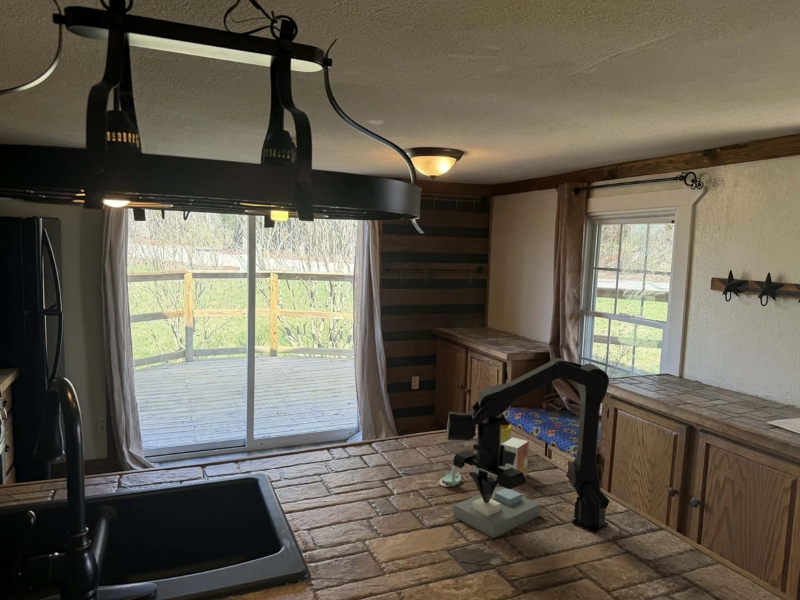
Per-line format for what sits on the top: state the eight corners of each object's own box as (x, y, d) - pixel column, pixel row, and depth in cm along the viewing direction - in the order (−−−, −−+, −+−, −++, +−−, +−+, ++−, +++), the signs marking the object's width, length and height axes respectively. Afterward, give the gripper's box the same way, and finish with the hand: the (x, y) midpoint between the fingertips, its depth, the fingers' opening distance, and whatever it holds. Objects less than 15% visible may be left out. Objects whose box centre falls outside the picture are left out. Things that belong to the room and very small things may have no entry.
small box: (516, 483, 159) (517, 448, 158) (498, 478, 163) (500, 443, 162) (527, 474, 166) (529, 440, 165) (510, 470, 169) (512, 436, 168)
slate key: (521, 503, 142) (521, 494, 141) (509, 509, 139) (509, 499, 138) (506, 497, 145) (506, 487, 145) (494, 502, 142) (495, 492, 142)
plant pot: (491, 461, 176) (492, 431, 175) (472, 450, 185) (473, 422, 184) (516, 455, 181) (517, 426, 180) (496, 445, 190) (497, 418, 189)
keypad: (539, 515, 140) (540, 504, 140) (493, 537, 129) (493, 525, 128) (500, 497, 150) (500, 486, 150) (453, 516, 139) (453, 505, 138)
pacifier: (437, 488, 155) (458, 490, 154) (437, 466, 155) (458, 468, 153) (441, 478, 163) (461, 479, 161) (441, 457, 162) (461, 459, 161)
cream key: (500, 513, 136) (500, 503, 136) (487, 519, 133) (487, 509, 133) (485, 506, 140) (485, 496, 140) (472, 511, 137) (472, 501, 137)
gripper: (540, 444, 133) (537, 506, 134) (482, 424, 147) (480, 481, 149) (511, 455, 126) (508, 520, 127) (452, 433, 140) (450, 492, 141)
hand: (486, 502), depth 136 cm, fingers closed
